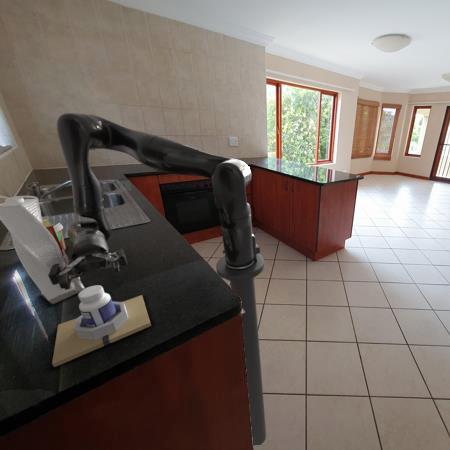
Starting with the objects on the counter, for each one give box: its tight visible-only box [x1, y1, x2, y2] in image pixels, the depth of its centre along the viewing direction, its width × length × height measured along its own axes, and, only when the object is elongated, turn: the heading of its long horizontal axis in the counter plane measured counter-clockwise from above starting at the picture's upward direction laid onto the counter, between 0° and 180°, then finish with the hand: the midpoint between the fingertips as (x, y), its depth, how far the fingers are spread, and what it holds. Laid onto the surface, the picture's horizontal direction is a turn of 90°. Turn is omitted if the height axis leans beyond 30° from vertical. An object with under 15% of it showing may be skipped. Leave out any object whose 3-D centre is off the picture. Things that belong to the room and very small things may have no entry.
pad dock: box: [51, 294, 152, 368], centre depth 53 cm, size 16×12×4 cm
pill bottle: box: [77, 284, 117, 328], centre depth 51 cm, size 5×5×9 cm
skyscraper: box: [0, 195, 87, 305], centre depth 58 cm, size 8×8×28 cm
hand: (91, 278), depth 54 cm, fingers open, 8 cm apart
